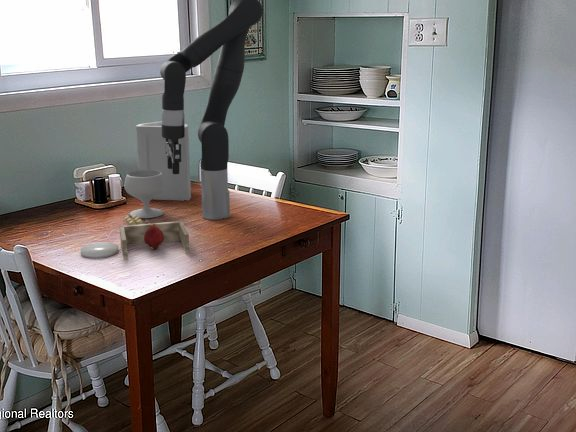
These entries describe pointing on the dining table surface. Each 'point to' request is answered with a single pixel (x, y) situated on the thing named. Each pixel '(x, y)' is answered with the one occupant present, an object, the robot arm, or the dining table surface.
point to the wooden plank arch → (169, 229)
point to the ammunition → (135, 220)
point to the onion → (153, 236)
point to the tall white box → (164, 160)
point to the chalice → (145, 190)
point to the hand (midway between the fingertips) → (173, 171)
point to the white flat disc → (99, 250)
